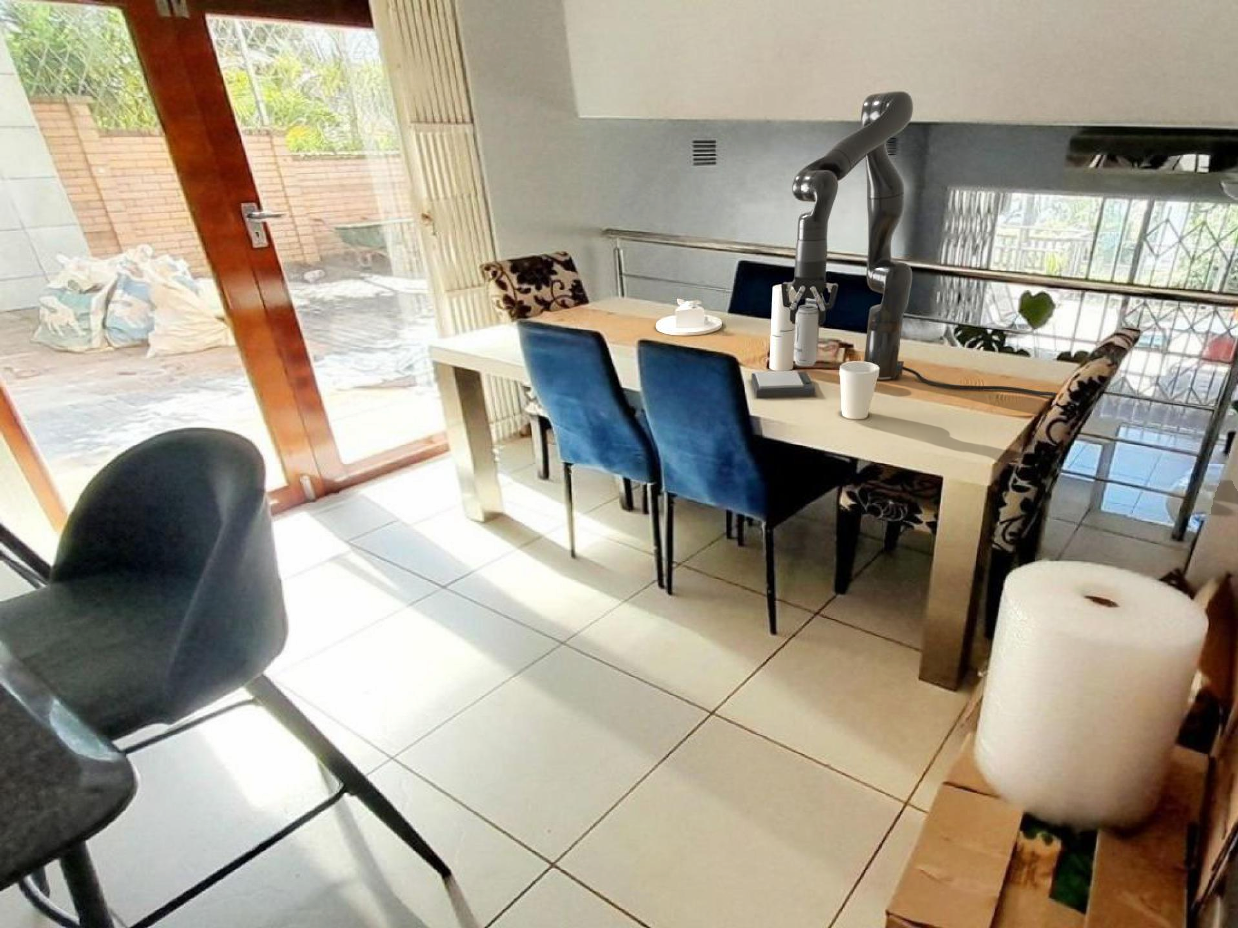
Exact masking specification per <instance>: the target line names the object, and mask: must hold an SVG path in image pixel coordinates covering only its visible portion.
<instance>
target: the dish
mask: <svg viewBox="0 0 1238 928" xmlns="http://www.w3.org/2000/svg"><path fill="white" fill-rule="evenodd" d="M676 302H677V304H678V305H679V306H678V307H676V309H675V310H674V315H670V316H666V317H663V318H661V319H659V320H657V321H656V324H655V328H656V330H657V331H658V332H660V333H663V334H665V335H672V336H684V337H685V336H686V337H688V336H700V335H706V334H710V333H714V332H716V331H719V330H720V329H722V325H723V320H722V319H720V318H719V317H716V316H714V315H710V314H705V308H704V307H702V306H700V305H701V304H702V301H701V300H699V299H695V300H690V301H689V300H684V299H682V298H677V300H676Z"/></svg>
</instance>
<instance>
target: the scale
mask: <svg viewBox="0 0 1238 928" xmlns="http://www.w3.org/2000/svg"><path fill="white" fill-rule="evenodd" d="M750 382H751V384H752V388H753V391H754V394H755V398H756V399H766V398H767V399H768V398H771V399H772V398H802V397H804V398H805V397H807V398H808V397H815V392H816V391H815V390H816V388H815V385H814V384H813V382H812V380H811V378H810V376H809V374H808V372H807V371H797V370H788V371H775V370H770V371H769V370H768V371H755V372H752V373H751V379H750Z"/></svg>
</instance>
